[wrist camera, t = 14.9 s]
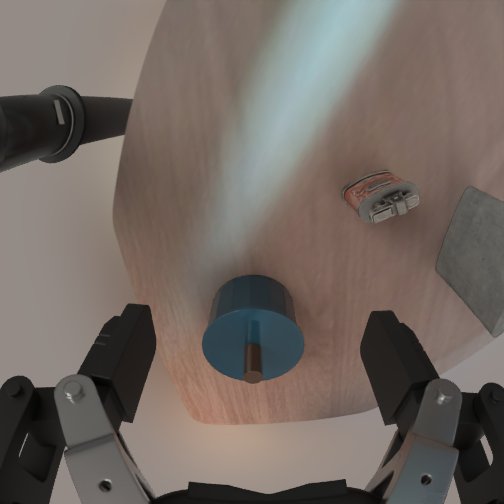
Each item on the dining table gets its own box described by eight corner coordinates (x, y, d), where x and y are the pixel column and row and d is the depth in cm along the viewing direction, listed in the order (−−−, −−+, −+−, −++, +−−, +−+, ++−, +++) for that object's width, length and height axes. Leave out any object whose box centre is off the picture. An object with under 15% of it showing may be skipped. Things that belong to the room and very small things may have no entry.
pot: (199, 319, 47) (190, 355, 40) (238, 260, 43) (234, 293, 35) (265, 348, 50) (266, 386, 42) (309, 298, 45) (318, 334, 38)
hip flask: (445, 274, 44) (509, 349, 26) (429, 271, 43) (494, 349, 25) (478, 189, 37) (565, 239, 19) (463, 182, 37) (554, 231, 19)
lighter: (389, 165, 36) (425, 182, 27) (395, 187, 38) (431, 209, 29) (337, 186, 38) (362, 209, 29) (345, 208, 39) (371, 237, 30)
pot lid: (187, 353, 40) (179, 385, 35) (233, 285, 35) (230, 317, 30) (267, 385, 43) (269, 417, 38) (323, 329, 38) (332, 362, 33)
